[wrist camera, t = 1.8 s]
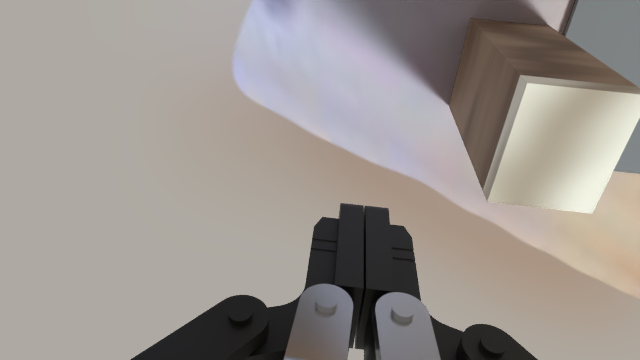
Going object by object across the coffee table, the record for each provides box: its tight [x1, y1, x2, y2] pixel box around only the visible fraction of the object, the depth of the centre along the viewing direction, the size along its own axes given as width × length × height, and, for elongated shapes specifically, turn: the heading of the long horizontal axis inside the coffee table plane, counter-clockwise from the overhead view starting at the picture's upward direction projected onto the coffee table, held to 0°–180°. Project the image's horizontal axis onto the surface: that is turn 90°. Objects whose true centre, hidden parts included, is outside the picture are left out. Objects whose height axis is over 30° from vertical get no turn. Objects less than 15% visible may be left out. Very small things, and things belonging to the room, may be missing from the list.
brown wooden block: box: [449, 18, 640, 213], centre depth 25 cm, size 5×6×12 cm
